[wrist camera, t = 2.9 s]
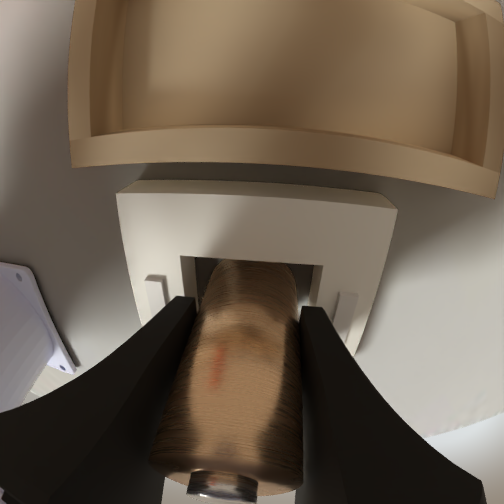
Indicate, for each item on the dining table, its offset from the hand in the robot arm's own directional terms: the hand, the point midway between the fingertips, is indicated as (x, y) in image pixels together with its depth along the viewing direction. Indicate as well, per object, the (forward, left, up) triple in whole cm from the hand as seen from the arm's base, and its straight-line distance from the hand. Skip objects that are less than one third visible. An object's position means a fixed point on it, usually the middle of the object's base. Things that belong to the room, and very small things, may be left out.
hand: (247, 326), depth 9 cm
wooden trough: (+1, +8, -2) cm, 8 cm away
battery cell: (0, 0, -2) cm, 2 cm away
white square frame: (0, 0, -2) cm, 2 cm away
